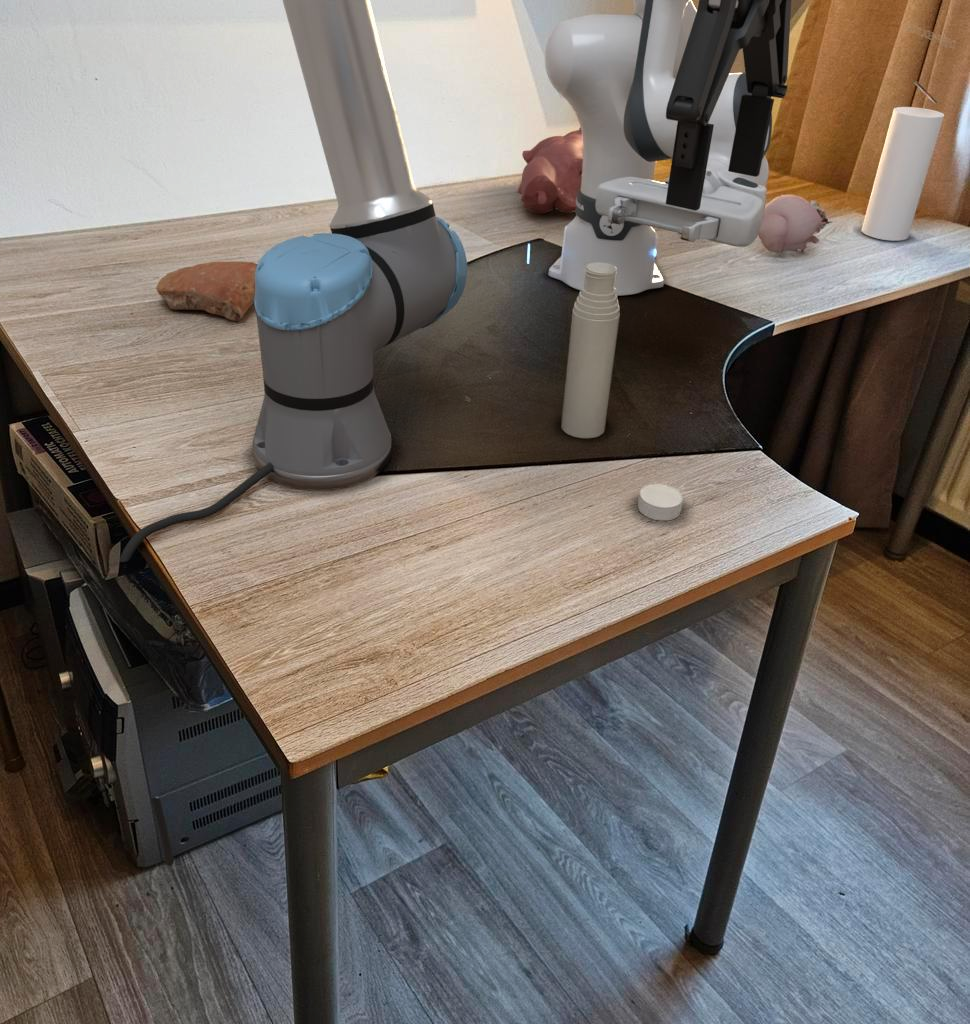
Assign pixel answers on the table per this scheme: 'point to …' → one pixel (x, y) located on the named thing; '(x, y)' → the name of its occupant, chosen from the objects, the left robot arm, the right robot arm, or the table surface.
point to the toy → (791, 223)
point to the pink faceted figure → (553, 174)
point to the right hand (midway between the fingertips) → (649, 225)
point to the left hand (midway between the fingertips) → (714, 189)
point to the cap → (660, 502)
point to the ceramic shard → (211, 288)
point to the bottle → (591, 353)
